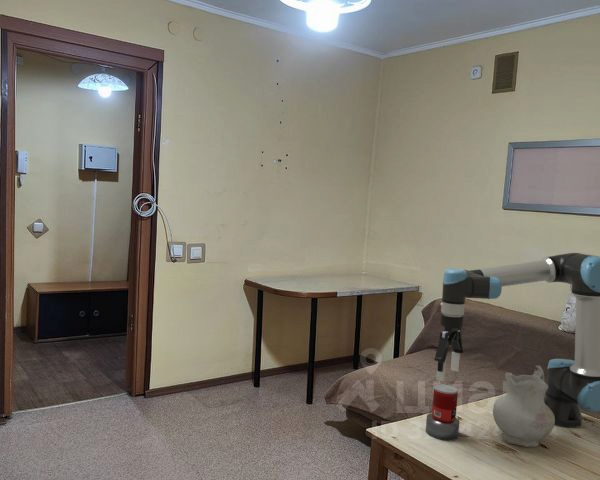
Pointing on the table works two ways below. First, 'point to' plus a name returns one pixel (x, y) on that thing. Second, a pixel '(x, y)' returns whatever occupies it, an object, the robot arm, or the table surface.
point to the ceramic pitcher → (524, 410)
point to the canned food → (444, 403)
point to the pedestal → (442, 429)
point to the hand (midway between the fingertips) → (447, 375)
